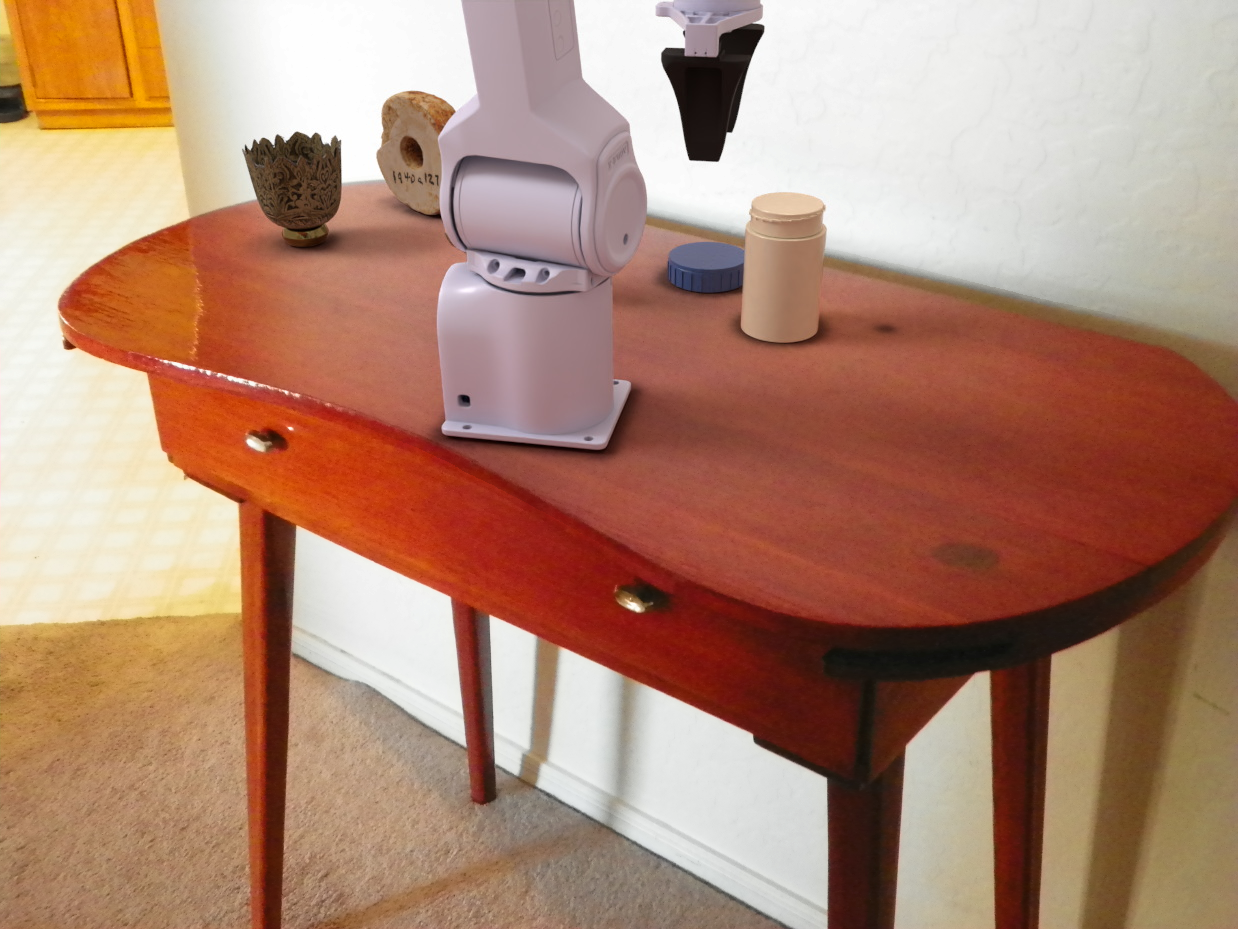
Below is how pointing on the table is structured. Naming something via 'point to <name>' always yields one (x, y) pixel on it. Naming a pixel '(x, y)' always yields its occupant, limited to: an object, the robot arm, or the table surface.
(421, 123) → the stone disc
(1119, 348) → the table surface
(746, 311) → the jar
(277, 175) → the cup
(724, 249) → the lid
